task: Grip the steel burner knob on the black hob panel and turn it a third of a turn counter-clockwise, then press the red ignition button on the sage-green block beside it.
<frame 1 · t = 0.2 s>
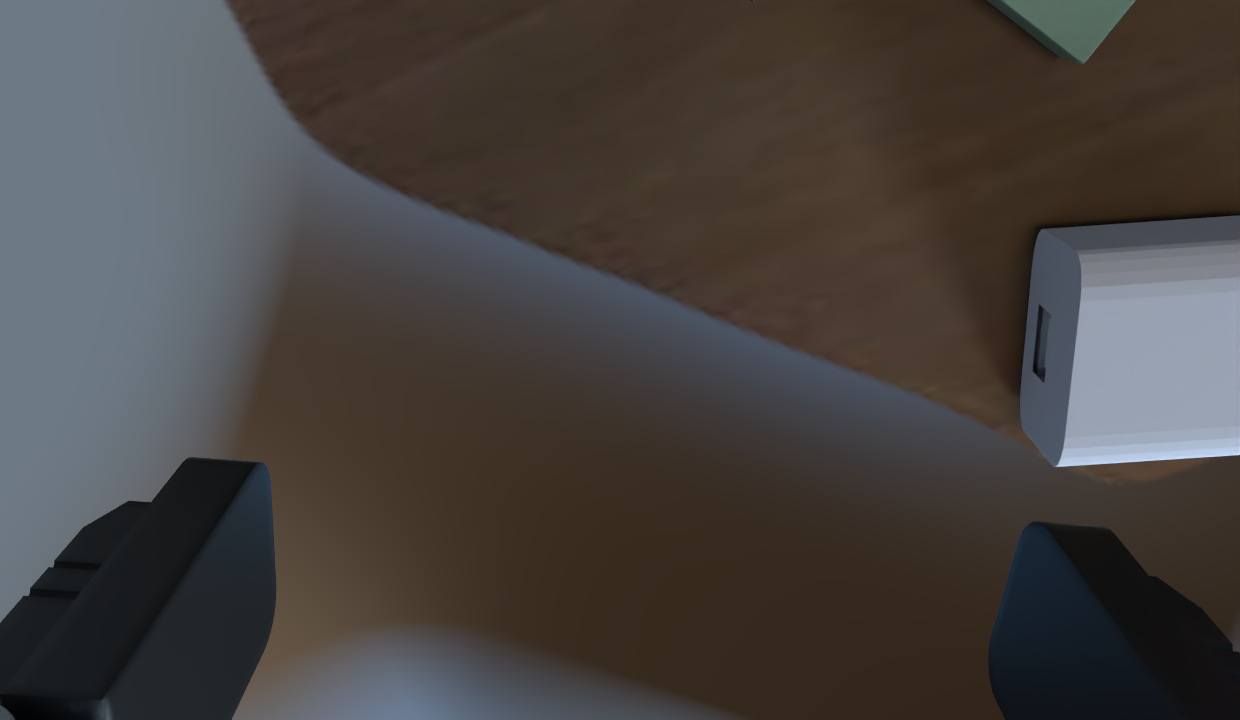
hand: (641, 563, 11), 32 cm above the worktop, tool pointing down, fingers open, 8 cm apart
charger: (1198, 314, 44), on the worktop
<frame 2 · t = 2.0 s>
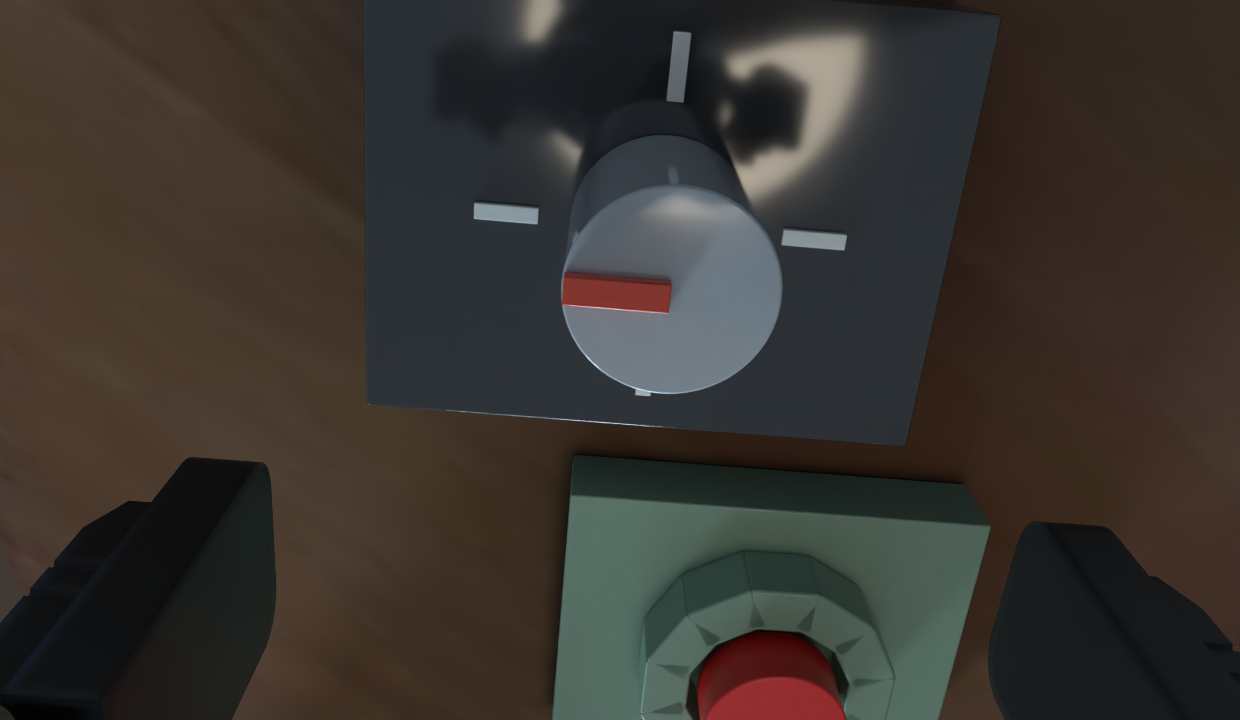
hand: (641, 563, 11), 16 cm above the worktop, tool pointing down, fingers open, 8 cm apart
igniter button: (769, 709, 26), point 4 cm above the worktop, slide at 0.1 cm
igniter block: (748, 602, 30), on the worktop
burner knob: (666, 258, 20), point 5 cm above the worktop, hinge at 0.0°
hob panel: (655, 191, 25), on the worktop
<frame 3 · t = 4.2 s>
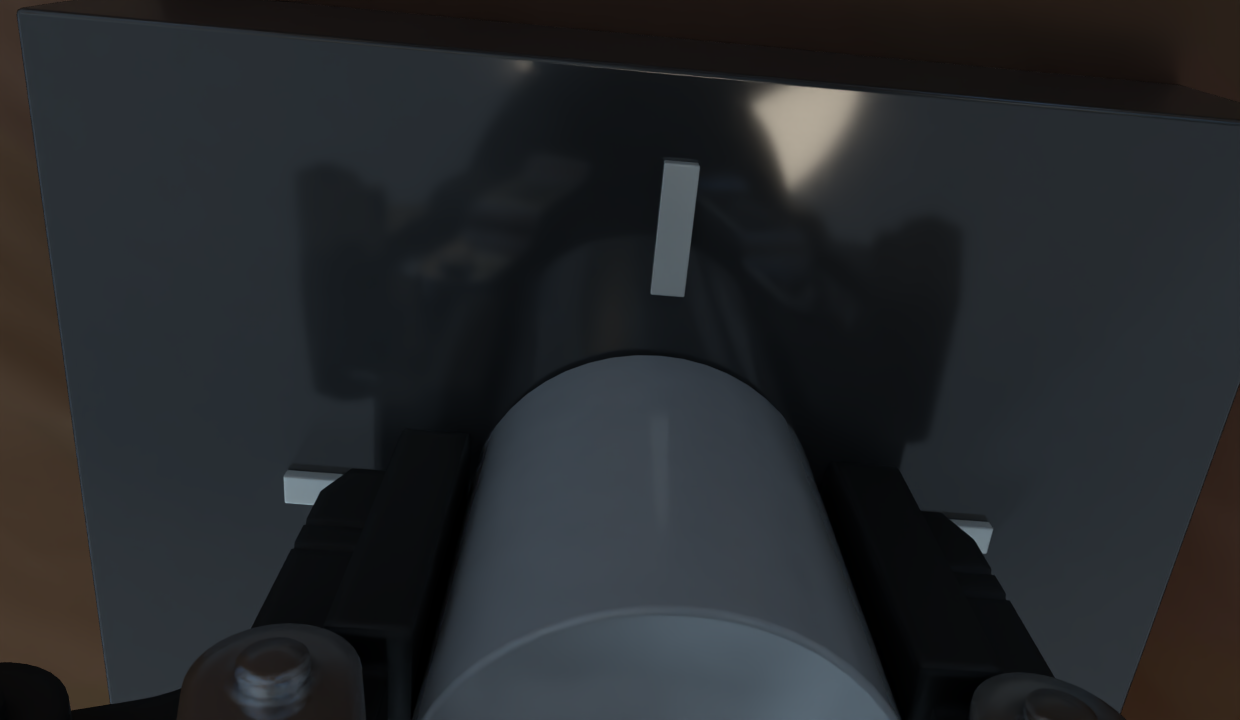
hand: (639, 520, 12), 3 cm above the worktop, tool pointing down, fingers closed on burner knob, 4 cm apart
burner knob: (648, 645, 10), point 5 cm above the worktop, hinge at 0.0°, touching gripper
hob panel: (636, 398, 15), on the worktop
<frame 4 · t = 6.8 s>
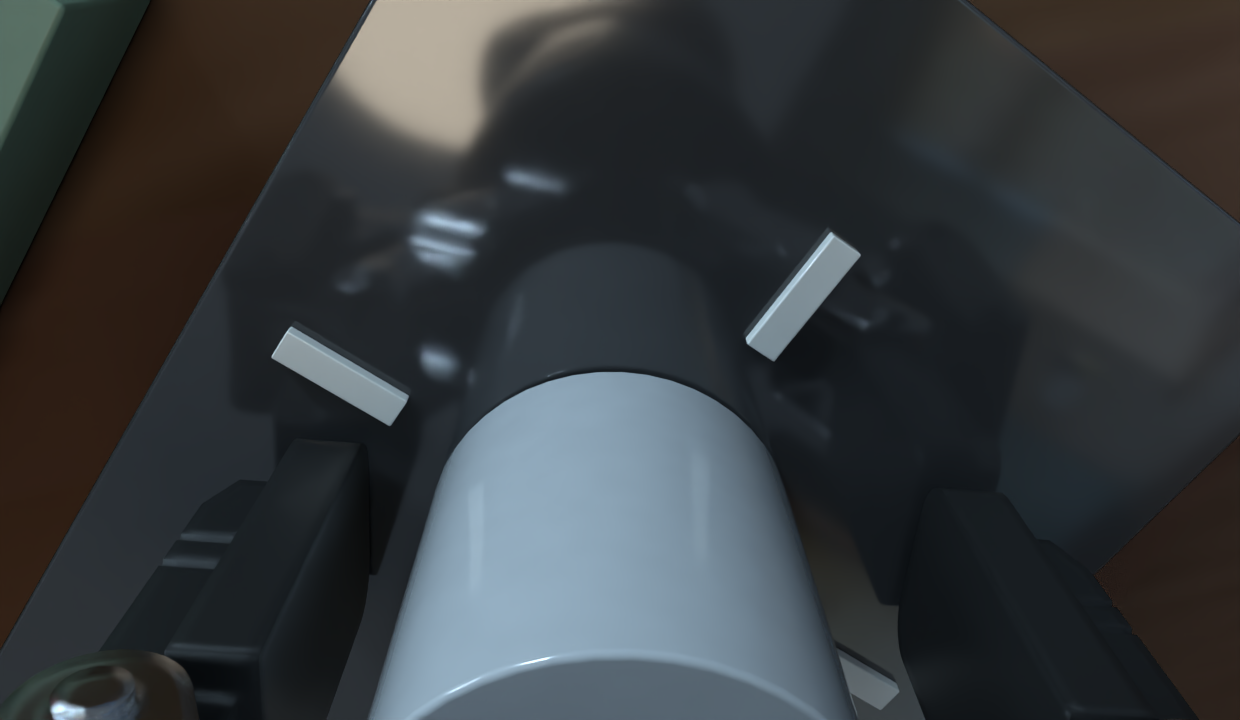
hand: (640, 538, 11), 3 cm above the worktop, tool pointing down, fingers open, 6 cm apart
burner knob: (612, 678, 9), point 5 cm above the worktop, hinge at 121.1°
hob panel: (609, 412, 14), on the worktop
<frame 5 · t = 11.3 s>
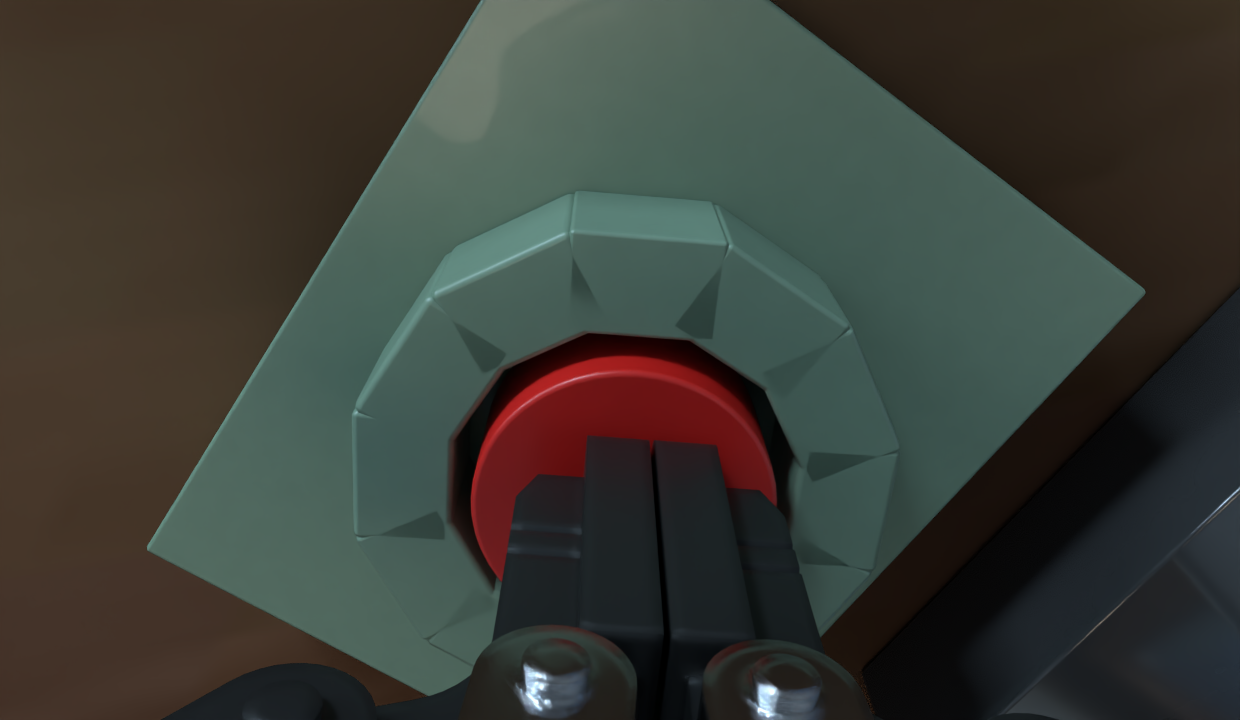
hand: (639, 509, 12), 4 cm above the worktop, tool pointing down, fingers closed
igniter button: (623, 475, 13), point 3 cm above the worktop, slide at -0.9 cm, touching gripper
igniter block: (620, 364, 16), on the worktop
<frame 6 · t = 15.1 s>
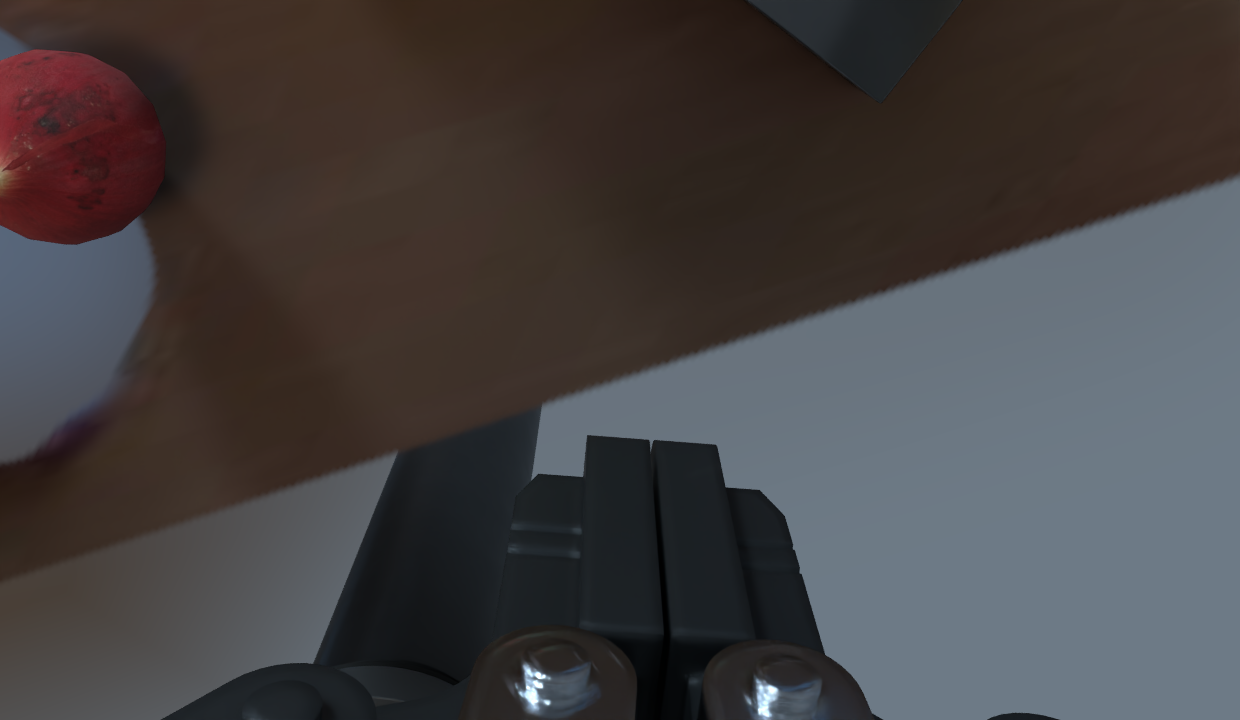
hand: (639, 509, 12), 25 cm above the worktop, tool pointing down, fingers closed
red round fruit: (118, 124, 35), on the worktop
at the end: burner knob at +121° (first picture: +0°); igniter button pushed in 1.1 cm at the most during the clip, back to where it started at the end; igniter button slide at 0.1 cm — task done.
